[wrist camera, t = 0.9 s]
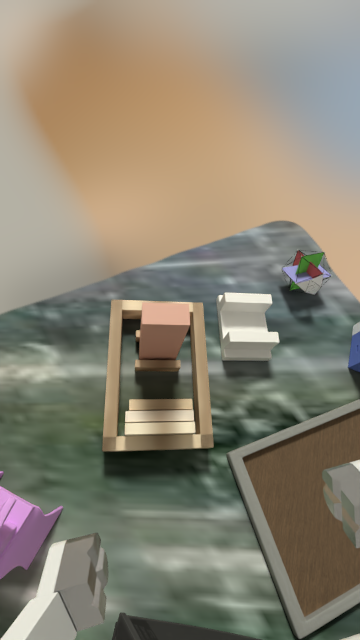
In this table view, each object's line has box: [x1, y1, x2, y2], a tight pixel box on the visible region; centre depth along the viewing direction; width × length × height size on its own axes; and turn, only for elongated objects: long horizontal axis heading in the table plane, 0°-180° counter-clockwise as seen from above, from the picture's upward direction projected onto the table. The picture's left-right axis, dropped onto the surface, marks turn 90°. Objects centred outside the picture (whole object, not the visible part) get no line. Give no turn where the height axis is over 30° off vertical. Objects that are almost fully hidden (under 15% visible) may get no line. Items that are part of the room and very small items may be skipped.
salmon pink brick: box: [139, 302, 190, 360], centre depth 38 cm, size 5×2×13 cm, turn 92°
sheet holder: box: [216, 293, 279, 361], centre depth 46 cm, size 7×10×4 cm
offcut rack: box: [102, 300, 214, 452], centre depth 41 cm, size 13×20×5 cm, turn 2°
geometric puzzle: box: [281, 250, 332, 295], centre depth 50 cm, size 7×7×8 cm
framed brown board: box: [226, 399, 360, 639], centre depth 40 cm, size 19×2×30 cm
